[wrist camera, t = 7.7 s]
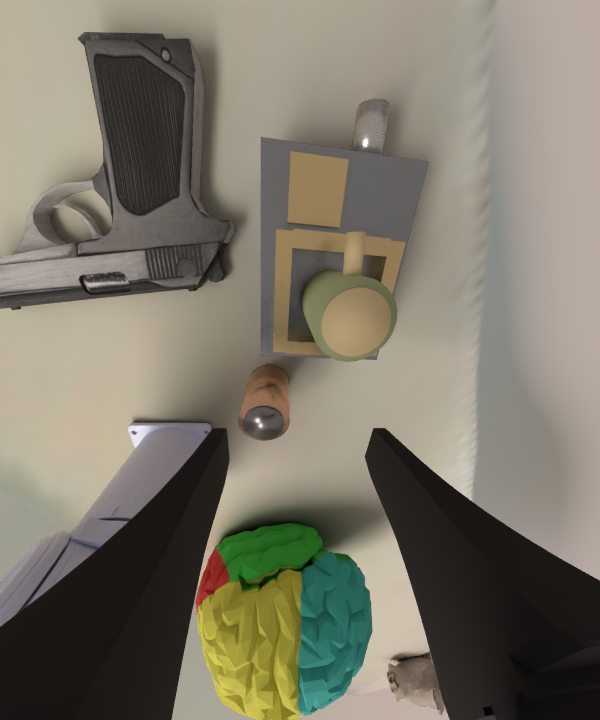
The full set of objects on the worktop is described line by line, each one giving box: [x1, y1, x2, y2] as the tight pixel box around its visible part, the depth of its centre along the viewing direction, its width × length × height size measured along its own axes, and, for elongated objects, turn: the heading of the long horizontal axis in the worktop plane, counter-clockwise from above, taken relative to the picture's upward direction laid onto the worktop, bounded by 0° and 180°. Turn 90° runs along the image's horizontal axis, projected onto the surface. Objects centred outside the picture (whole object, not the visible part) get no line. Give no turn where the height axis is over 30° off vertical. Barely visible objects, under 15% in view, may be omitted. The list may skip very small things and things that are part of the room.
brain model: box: [195, 523, 372, 720], centre depth 28 cm, size 24×19×15 cm
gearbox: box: [261, 99, 428, 360], centre depth 14 cm, size 14×9×5 cm, turn 175°
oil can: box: [301, 232, 397, 361], centre depth 11 cm, size 5×4×6 cm
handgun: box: [0, 32, 235, 310], centre depth 13 cm, size 18×2×12 cm
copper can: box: [238, 365, 290, 440], centre depth 18 cm, size 4×4×6 cm
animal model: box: [387, 652, 446, 715], centre depth 73 cm, size 14×28×17 cm
